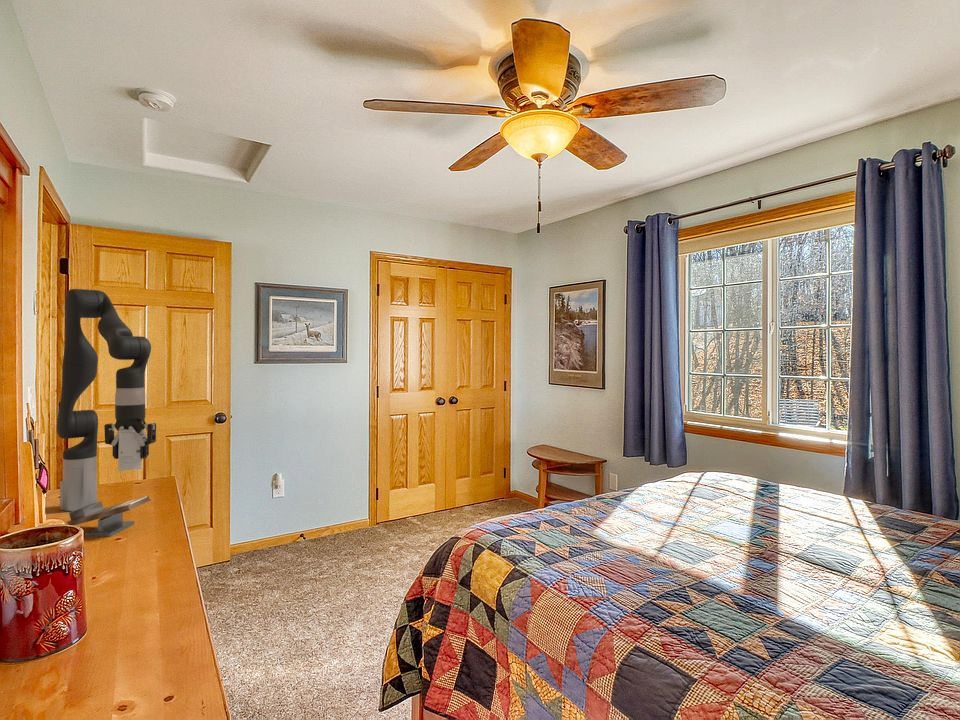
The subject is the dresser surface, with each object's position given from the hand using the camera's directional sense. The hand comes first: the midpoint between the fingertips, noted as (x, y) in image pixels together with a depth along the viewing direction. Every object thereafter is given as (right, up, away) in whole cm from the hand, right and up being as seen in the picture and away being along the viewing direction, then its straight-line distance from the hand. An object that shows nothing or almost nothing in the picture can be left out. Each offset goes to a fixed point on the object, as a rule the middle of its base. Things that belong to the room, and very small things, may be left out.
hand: (130, 458), depth 156 cm
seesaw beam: (-6, -16, 0) cm, 17 cm away
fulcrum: (-6, -21, 0) cm, 22 cm away
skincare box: (0, -3, 0) cm, 3 cm away
